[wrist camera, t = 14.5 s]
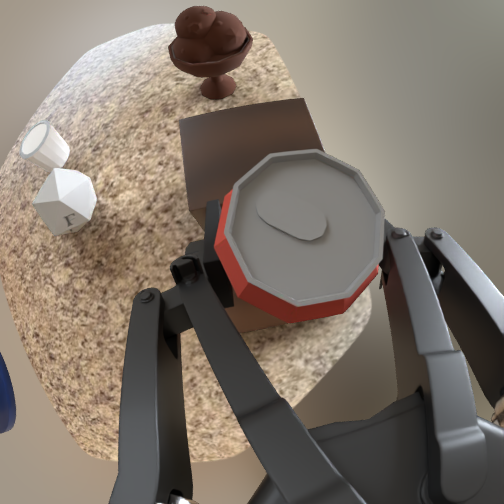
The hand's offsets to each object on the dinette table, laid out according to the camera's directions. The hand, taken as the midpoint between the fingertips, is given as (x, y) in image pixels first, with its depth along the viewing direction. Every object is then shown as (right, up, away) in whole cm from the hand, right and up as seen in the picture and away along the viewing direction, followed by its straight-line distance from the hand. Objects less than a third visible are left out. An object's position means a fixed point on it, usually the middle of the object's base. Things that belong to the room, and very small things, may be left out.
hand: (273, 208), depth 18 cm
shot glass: (-34, +13, +19) cm, 41 cm away
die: (-25, +3, +17) cm, 31 cm away
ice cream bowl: (-6, +22, +20) cm, 31 cm away
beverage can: (+1, -4, +3) cm, 5 cm away
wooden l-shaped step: (0, -1, +15) cm, 15 cm away
